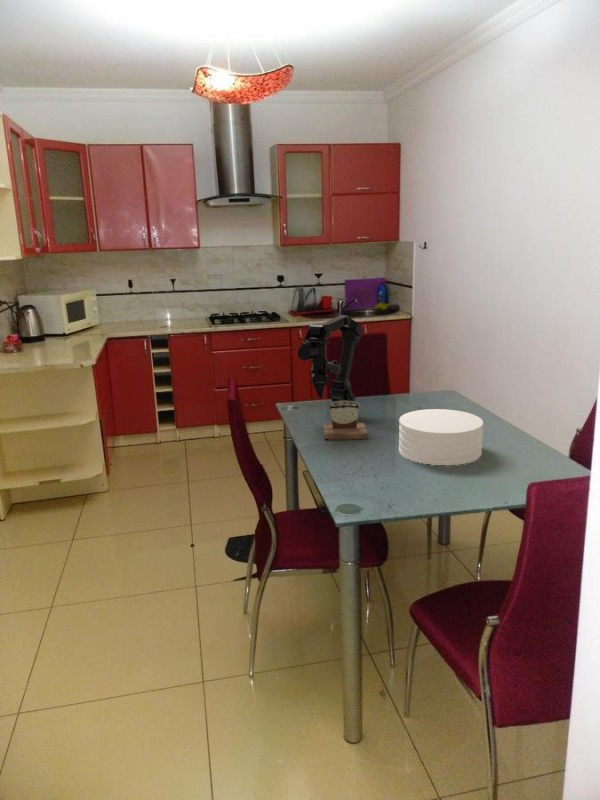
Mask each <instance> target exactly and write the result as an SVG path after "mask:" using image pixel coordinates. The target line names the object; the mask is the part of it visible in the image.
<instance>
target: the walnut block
mask: <svg viewBox="0 0 600 800" xmlns="http://www.w3.org/2000/svg"><path fill="white" fill-rule="evenodd" d="M322 426H323V435H324V437H325V438H324V437H323V438H324V440H325V439H329V440H328V441H331V440H330V439H338V440H339V441H340V440H341V439H342V440H365V439H366V440H368V431H367V428H366V425H365V422H358V424H357V429H349V430H332V423H323V425H322ZM338 440H337V441H338Z"/></svg>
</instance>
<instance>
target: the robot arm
mask: <svg viewBox="0 0 600 800" xmlns="http://www.w3.org/2000/svg"><path fill="white" fill-rule="evenodd" d="M337 330H339V332H340V334H341V335H340V336H341V340H342V343H343V345H342V347H343V348H342V352H341V357H340V362H339V363H338V361H337V360H335V359H334V360H333V361H329V360H328V358H327V344H329V343H330V341H329V340H328V338H329V337H330V336H331V334H332V333H333V332H335V331H337ZM363 332H364V331H363V327H362V326H361V325H360V323H359V322H357V321H355V320H354V319H352V317H351V316H349V315H346V314H345V315H344V314H343V315H342V314H339V315H337V316H336V317H333V318H332V319H329V320H327V321H324V322H317V323H311V324H310V325H309V327H308V329H307V331H306V335H305V337H304V340H303V342H301V346H300V347H299V348H298V350H297V356H298V358H299V360H301V361H304V362H307V361H309V360H311V369H310V370H311V384H312V386H313V388H314V390H315V393H316V394H317V397H318V398H319V399H323V393H324V388H325V385H327V384H328V383H329V375H328V373H332V374H334V375H337V377H336V379H335V380H334V379H333V380H332V381H331V384H330V388H329V395H330V397H331V402H335V401H354V402H356V401H355V400H356V396H355V394H353V392H352V384H351V382H350V378H351V377H350V376H351V372H352V371H351V370H352V367H353V366H352V364H353V359H354V355H355V349H356V346H357V344H359V342H360V341H361V339H362V335H363Z"/></svg>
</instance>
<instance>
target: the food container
mask: <svg viewBox="0 0 600 800" xmlns="http://www.w3.org/2000/svg"><path fill="white" fill-rule="evenodd" d="M359 410H361V405H360V403H359V402H357V401H335V402H333V401H331V403H329V405H328V411H329V412H330V421H331V424H332V430H349V429H357V424H358V423H359V422H358V421H359V412H360V411H359Z"/></svg>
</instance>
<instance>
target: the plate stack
mask: <svg viewBox="0 0 600 800" xmlns="http://www.w3.org/2000/svg"><path fill="white" fill-rule="evenodd" d="M398 425H399V428H398V430H399V433H398V453H399V454H400V456H402V457H403V458H405V459H407V460H408V459H409V461H412V462H414V463H417V462H418V463H417V464H421V463H423V464H422V465H426V464H431V465H430V466H434V465H447V466H446V467H450V466H449V465H457V466H459V465H458V464H464V465H466V464H465V463H469V462H472V461H474V462H476V461H478V460H479V459H480V458H481V457H482V455H483V453H482V452H483V450H482V449H483V433H484V429H483V427H484V421H483V419H482V418H481V417H479V416H477V415H476V414H472V413H470V412H465V411H461V410H455V409H445V408H444V409H442V408H432V409H431V408H429V409H419V410H418V409H417V410H412V411H409V412H406V413H404V414H402V415H401V416H400V417H399V418H398ZM481 454H482V455H481ZM480 456H481V457H480ZM479 457H480V458H479ZM478 458H479V459H478ZM477 459H478V460H477ZM475 460H476V461H475ZM472 463H473V462H472ZM469 464H470V463H469Z"/></svg>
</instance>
